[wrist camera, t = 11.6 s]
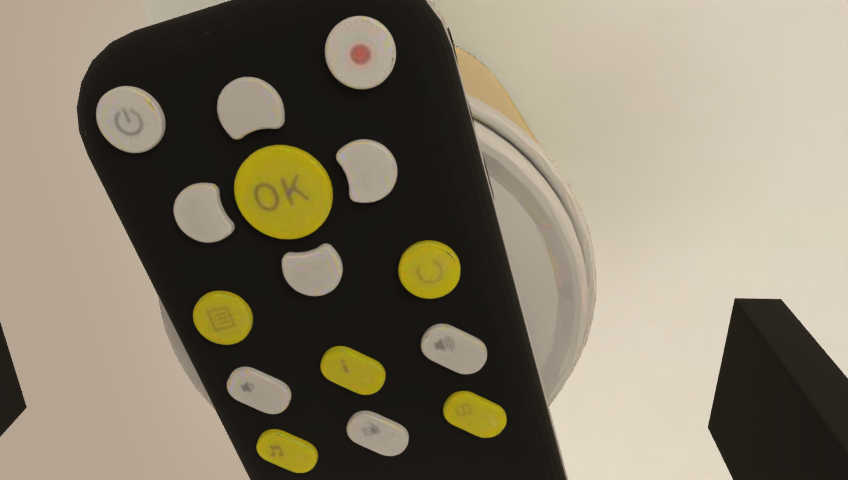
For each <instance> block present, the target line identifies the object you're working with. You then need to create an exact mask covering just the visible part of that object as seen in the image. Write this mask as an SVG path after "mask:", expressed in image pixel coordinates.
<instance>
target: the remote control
mask: <svg viewBox="0 0 848 480" xmlns="http://www.w3.org/2000/svg"><path fill="white" fill-rule="evenodd" d="M77 114H78V124H79V132H80V135H81V137H82V140H83V143H84V146H85V148H86V151H87V154H88V156H89V158H90V160H91V162H92V164H93V166H94V168H95V170H96V172H97V174H98V176H99V178H100V180H101V182H102V184H103V186H104V188H105V190H106V192H107V194H108V196H109V198H110V200H111V202H112V204H113V206H114V208H115V210H116V212H117V214H118V216H119V218H120V220H121V222H122V224H123V226H124V228H125V230H126V232H127V234H128V236H129V238H130V240H131V242H132V244H133V246H134V248H135V250H136V252H137V254H138V256H139V258H140V260H141V262H142V264H143V266H144V268H145V270H146V272H147V274H148V276H149V278H150V280H151V282H152V284H153V286H154V288H155V290H156V292H157V294H158V296H159V298H160V300H161V302H162V304H163V306H164V308H165V310H166V312H167V314H168V316H169V318H170V320H171V322H172V324H173V326H174V328H175V330H176V332H177V334H178V336H179V338H180V340H181V342H182V344H183V346H184V348H185V350H186V352H187V354H188V356H189V358H190V360H191V362H192V364H193V366H194V368H195V370H196V372H197V374H198V376H199V378H200V380H201V382H202V384H203V386H204V388H205V390H206V392H207V394H208V396H209V398H210V400H211V402H212V404H213V406H214V408H215V410H216V412H217V414H218V416H219V418H220V419H221V422H222V424H223V426H224V428H225V430H226V432H227V434H228V435H229V438H230V439H231V442H232V443H233V446H234V448H235V450H236V452H237V454H238V456H239V458H240V459H241V462H242V464H243V465H244V468H245V470H246V472H247V474H248V475H249V478H250V480H568V478H567V474H566V470H565V466H564V463H563V459H562V455H561V451H560V447H559V444H558V440H557V436H556V432H555V428H554V425H553V421H552V417H551V413H550V409H549V406H548V402H547V398H546V394H545V391H544V387H543V383H542V379H541V375H540V372H539V368H538V364H537V360H536V356H535V353H534V349H533V345H532V341H531V337H530V334H529V330H528V326H527V322H526V318H525V315H524V311H523V307H522V303H521V299H520V296H519V292H518V288H517V284H516V280H515V277H514V273H513V269H512V265H511V261H510V258H509V254H508V250H507V246H506V242H505V239H504V235H503V231H502V227H501V223H500V220H499V216H498V212H497V208H496V204H495V201H494V194H493V190H492V186H491V183H490V179H489V175H488V171H487V167H486V164H485V160H484V156H483V152H482V151H481V147H480V144H479V140H478V136H477V133H476V130H475V126H474V121H473V117H472V113H471V109H470V105H469V102H468V99H467V94H466V90H465V87H464V83H463V79H462V75H461V71H460V68H459V66H458V60H457V56H456V51H455V47H454V44H453V40H452V36H451V33H450V30H449V28H447V26H446V24H445V22H444V19H443V17H442V15H441V14H440V13H439V11H438V10H437V9H436V7H435V6H434V5H433V3H432V2H431V1H430V0H231V1H228V2H224V3H221V4H218V5H215V6H212V7H208V8H205V9H202V10H199V11H196V12H193V13H189V14H186V15H183V16H180V17H177V18H173V19H170V20H167V21H164V22H161V23H158V24H154V25H151V26H148V27H145V28H142V29H139V30H135V31H133V32H131V33H129V34H127V35H125V36H123V37H121V38H119V39H117V40H115V41H113V42H112V43H110V44H109V45H108V46H107V47H106V48H105V49H104V50H103V51H102V52H101V53H100V54H99V55H98V56H97V57H96V58H95V59H94V60H93V61H92V63H91V64H90V66H89V68H88V71H87V72H86V74H85V76H84V78H83V80H82V83H81V87H80V93H79V99H78V105H77Z"/></svg>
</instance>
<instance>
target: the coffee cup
mask: <svg viewBox="0 0 848 480" xmlns="http://www.w3.org/2000/svg"><path fill="white" fill-rule="evenodd" d="M454 47H455V51H456V56H457V60H458V66H459V68H460V71H461V75H462V79H463V83H464V87H465V90H466V94H467V99H468V102H469V105H470V109H471V113H472V117H473V121H474V126H475V130H476V133H477V136H478V140H479V144H480V147H481V151H482V152H483V156H484V160H485V164H486V167H487V171H488V175H489V179H490V183H491V186H492V190H493V194H494V201H495V204H496V208H497V212H498V216H499V220H500V223H501V227H502V231H503V235H504V239H505V242H506V246H507V250H508V254H509V258H510V261H511V265H512V269H513V273H514V277H515V280H516V284H517V288H518V292H519V296H520V299H521V303H522V307H523V311H524V315H525V318H526V322H527V326H528V330H529V334H530V337H531V341H532V345H533V349H534V353H535V356H536V360H537V364H538V368H539V372H540V375H541V379H542V383H543V387H544V391H545V394H546V398H547V402H548V406H549V405H550V404H551V403H552V401H553V400H554V399H555V397H556V396H557V395H558V393H559V392H560V391H561V389H562V388H563V386H564V384H565V382H566V380H567V379H568V377H569V376H570V374H571V372H572V371H573V369H574V367H575V365H576V363H577V362H578V360H579V358H580V356H581V353H582V351H583V348H584V346H585V344H586V341H587V338H588V335H589V331H590V327H591V324H592V320H593V314H594V307H595V300H596V270H595V260H594V251H593V246H592V242H591V238H590V234H589V229H588V226H587V223H586V221H585V218H584V215H583V213H582V210H581V207H580V205H579V203H578V201H577V199H576V197H575V195H574V193H573V191H572V189H571V187H570V186H569V184H568V182H567V181H566V179H565V178H564V176H563V175H562V174H561V172H560V171H559V169H558V168H557V166H556V165H555V163H554V162H553V161H552V160H551V159H550V157H549V156H548V155H547V154H546V153H545V152H544V150H543V149H542V148H541V147H540V146H539V144H538V142H537V141H536V139H535V137H534V136H533V134H532V132H531V130H530V129H529V127H528V125H527V124H526V122H525V121H524V119H523V117H522V116H521V114H520V113H519V111H518V109H517V108H516V106H515V105H514V103H513V102H512V100H511V98H510V97H509V95H508V94H507V92H506V90H505V89H504V87H503V86H502V85H501V84H500V82H499V81H498V80H497V79H496V77H495V76H494V75H493V74H492V73H491V72H490V71H489V70H488V69H487V68H486V67H485V66H484V65H483V64H482V63H481V62H480V61H479V60H477V59H476V58H475V57H473V56H472V55H470V54H469V53H467V52H465V51H464V50H462V49H460V48H458V47H456V46H454ZM158 297H159V296H158ZM159 303H160V309H161V314H162V318H163V322H164V326H165V329H166V332H167V335H168V338H169V340H170V342H171V345H172V347H173V350H174V352H175V354H176V356H177V358H178V360H179V362H180V364H181V365H182V367H183V369H184V371H185V372H186V373H187V375H188V377H189V378H190V380H191V381H192V383H193V384H194V386H195V387H196V389H197V390H198V391H199V392H200V393H201V394H202V396H203V397H204V398H205V399H206V400H207V401H208V402H209V403H210V404H211V405H212V406H213V404H212V402H211V400H210V398H209V396H208V394H207V392H206V390H205V388H204V386H203V384H202V382H201V380H200V378H199V376H198V374H197V372H196V370H195V368H194V366H193V364H192V362H191V360H190V358H189V356H188V354H187V352H186V350H185V348H184V346H183V344H182V342H181V340H180V338H179V336H178V334H177V332H176V330H175V328H174V326H173V324H172V322H171V320H170V318H169V316H168V314H167V312H166V310H165V308H164V306H163V304H162V302H161V300H160V298H159ZM213 407H214V406H213ZM214 409H215V408H214Z"/></svg>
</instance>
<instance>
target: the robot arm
mask: <svg viewBox="0 0 848 480" xmlns="http://www.w3.org/2000/svg"><path fill="white" fill-rule="evenodd" d="M25 409H26V404H25V401H24V398H23V394H22V391H21V388H20V385H19V381H18V378H17V375H16V372H15V369H14V365H13V362H12V359H11V355H10V352H9V349H8V346H7V343H6V339H5V336H4V333H3V330H2V326H1V323H0V436H1V435H2V434H3V433H4V432H5V431H6V430H7V428H9V426H10V425H11V424H12V423H13V422H14V421H15V420H16V418H18V416H19V415H20V414H21V413H22V412H23V411H24V410H25ZM708 428H709V430H710V433H711V435H712V437H713V439H714V441H715V443H716V445H717V447H718V449H719V451H720V453H721V455H722V457H723V460H724V462H725V464H726V466H727V468H728V470H729V472H730V474H731V476H732V478H733V480H848V378H847V377H846V376H845V375H844V374H843V372H842V371H841V370H840V369H839V368H838V366H837V365H836V364H835V363H834V362H833V360H832V359H831V358H830V357H829V356H828V355H827V353H826V352H825V351H824V350H823V349H822V347H821V346H820V345H819V344H818V343H817V341H816V340H815V339H814V338H813V337H812V335H811V334H810V333H809V332H808V331H807V330H806V328H805V327H804V326H803V325H802V324H801V322H800V321H799V320H798V319H797V318H796V316H795V315H794V314H793V313H792V312H791V310H790V309H789V308H788V307H787V306H786V305H785V303H784V302H783V301H782V300H781V299H741V298H735V300H734V305H733V310H732V314H731V319H730V324H729V329H728V334H727V338H726V343H725V348H724V353H723V358H722V362H721V367H720V372H719V377H718V382H717V386H716V391H715V396H714V401H713V406H712V410H711V415H710V420H709V425H708Z"/></svg>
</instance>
